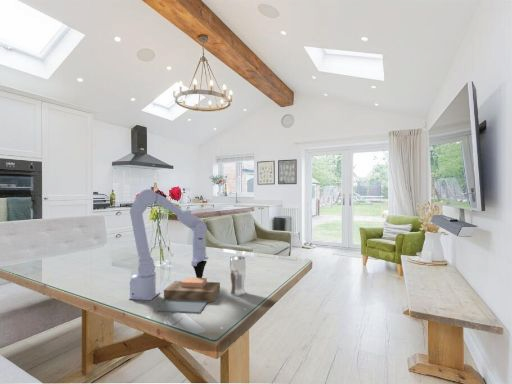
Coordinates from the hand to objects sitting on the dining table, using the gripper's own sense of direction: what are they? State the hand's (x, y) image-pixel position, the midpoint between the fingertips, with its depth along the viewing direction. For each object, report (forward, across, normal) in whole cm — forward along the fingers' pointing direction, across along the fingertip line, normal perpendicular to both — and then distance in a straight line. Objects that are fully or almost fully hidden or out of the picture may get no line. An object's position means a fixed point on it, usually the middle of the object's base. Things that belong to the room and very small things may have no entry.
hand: (199, 277), depth 123 cm
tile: (+1, -7, 0) cm, 7 cm away
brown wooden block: (+5, -8, 0) cm, 10 cm away
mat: (+5, -19, 0) cm, 20 cm away
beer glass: (+5, -4, -18) cm, 19 cm away
